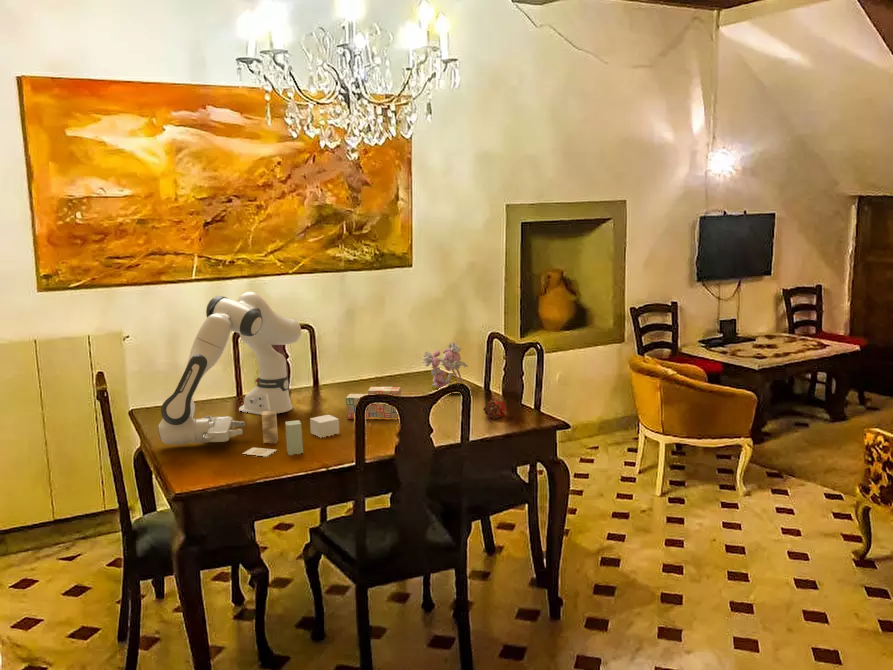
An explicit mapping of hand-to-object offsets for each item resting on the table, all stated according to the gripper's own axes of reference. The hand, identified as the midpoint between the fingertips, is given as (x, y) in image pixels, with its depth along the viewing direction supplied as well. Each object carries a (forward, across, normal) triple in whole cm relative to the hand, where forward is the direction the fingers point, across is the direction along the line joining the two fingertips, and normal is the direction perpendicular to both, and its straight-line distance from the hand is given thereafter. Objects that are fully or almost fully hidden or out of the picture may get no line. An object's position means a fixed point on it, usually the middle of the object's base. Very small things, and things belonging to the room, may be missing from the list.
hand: (243, 427), depth 317 cm
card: (+6, -13, +6) cm, 16 cm away
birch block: (+10, 0, +6) cm, 11 cm away
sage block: (+19, -15, +6) cm, 25 cm away
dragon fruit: (+97, +10, +6) cm, 98 cm away
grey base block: (+30, +5, +6) cm, 31 cm away
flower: (+83, +56, +6) cm, 100 cm away
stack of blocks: (+50, +21, +6) cm, 54 cm away
